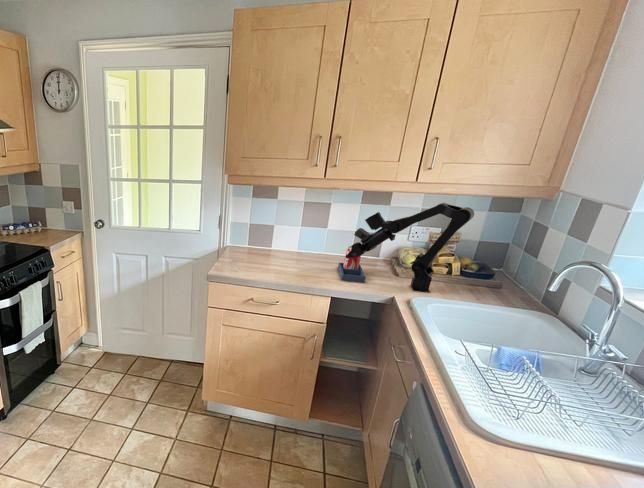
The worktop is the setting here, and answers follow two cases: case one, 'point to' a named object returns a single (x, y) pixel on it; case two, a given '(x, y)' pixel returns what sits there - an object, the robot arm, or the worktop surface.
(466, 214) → the robot arm
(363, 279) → the can rack
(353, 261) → the soda can
